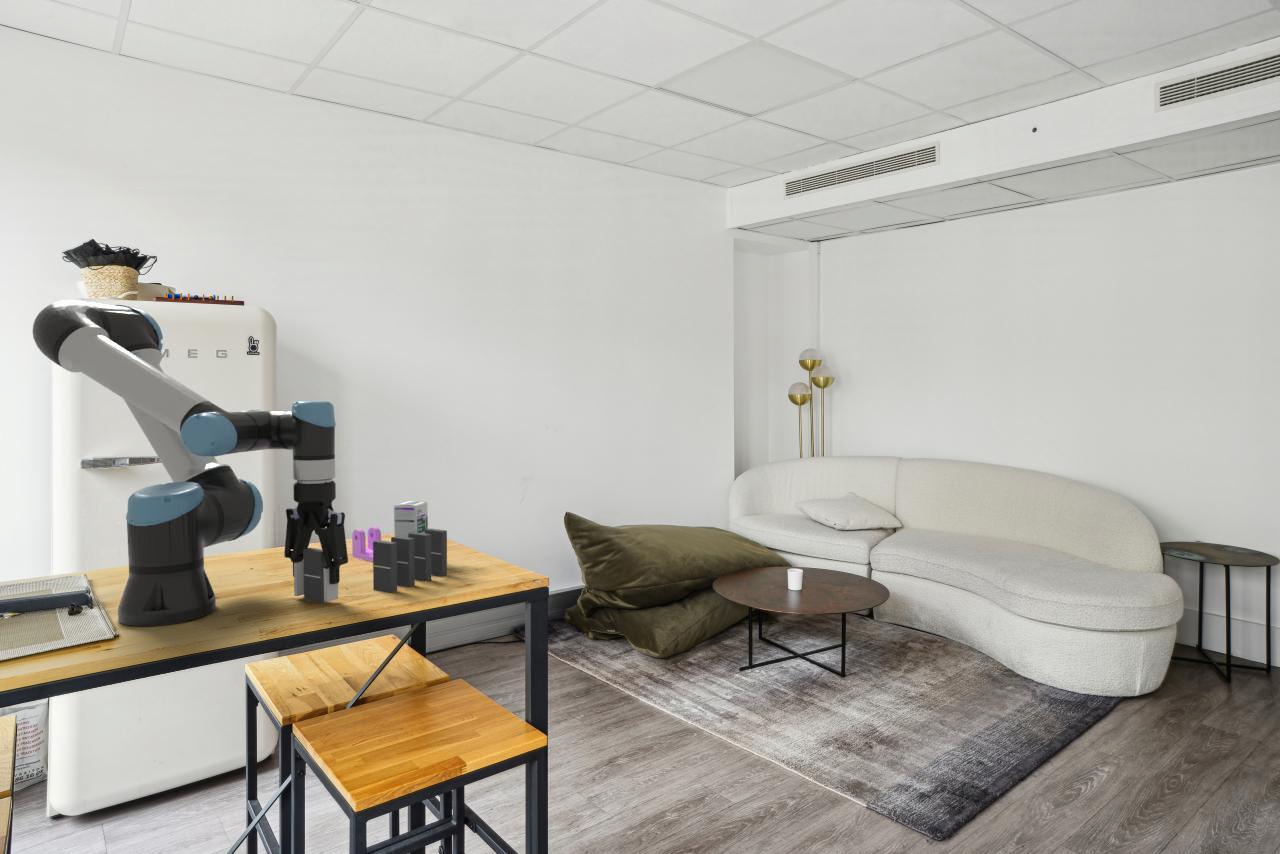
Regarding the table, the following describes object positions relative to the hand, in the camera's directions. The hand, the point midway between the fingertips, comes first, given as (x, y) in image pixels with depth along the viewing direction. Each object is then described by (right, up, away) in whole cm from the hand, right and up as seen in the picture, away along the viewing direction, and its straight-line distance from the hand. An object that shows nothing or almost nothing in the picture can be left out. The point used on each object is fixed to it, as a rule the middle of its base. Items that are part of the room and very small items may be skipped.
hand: (316, 597), depth 149 cm
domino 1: (0, -1, 0) cm, 1 cm away
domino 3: (+13, 0, +12) cm, 18 cm away
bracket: (-1, +1, +36) cm, 36 cm away
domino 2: (+11, 0, +8) cm, 13 cm away
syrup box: (+9, +1, +31) cm, 33 cm away
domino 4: (+15, 0, +17) cm, 23 cm away
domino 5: (+18, 0, +21) cm, 28 cm away
